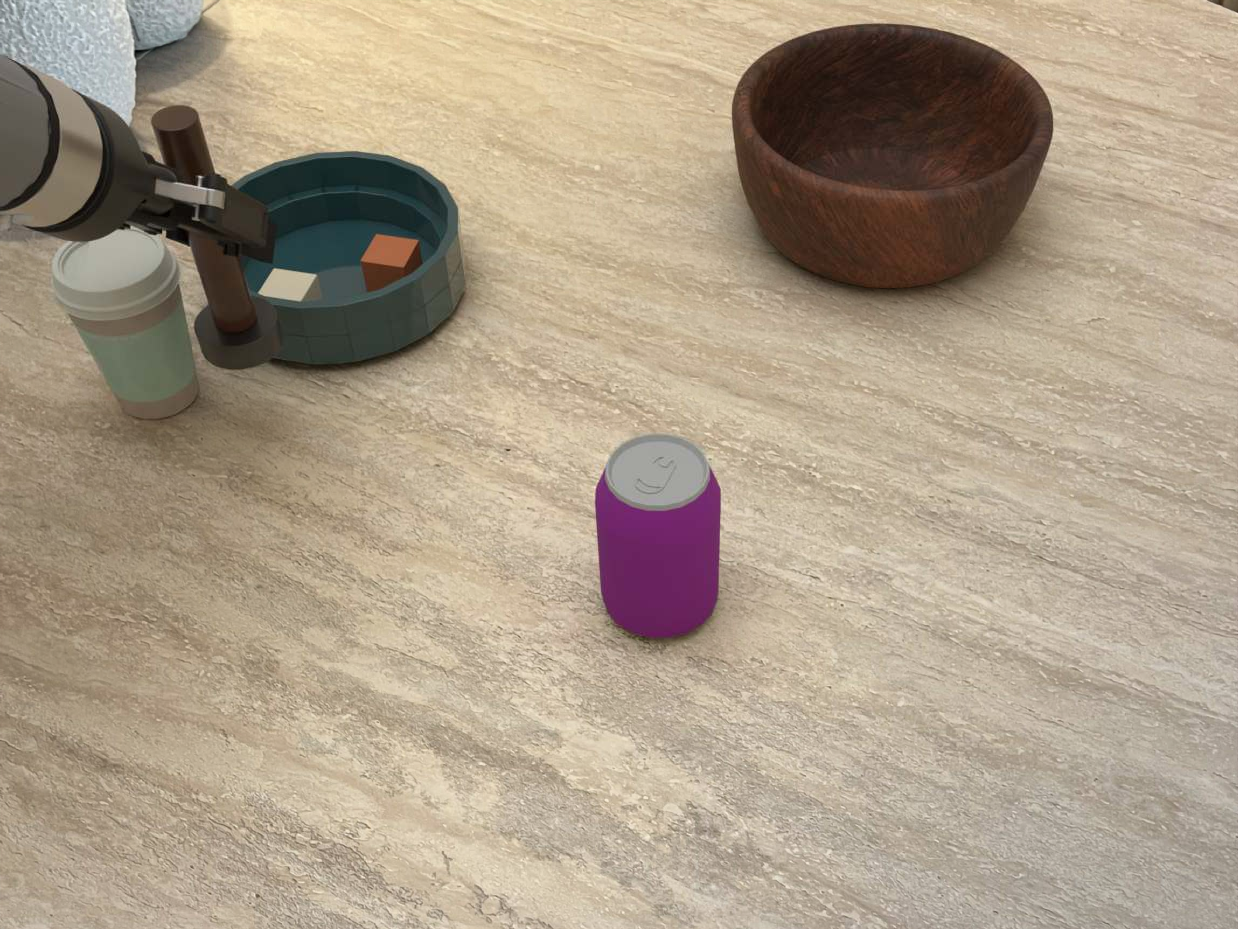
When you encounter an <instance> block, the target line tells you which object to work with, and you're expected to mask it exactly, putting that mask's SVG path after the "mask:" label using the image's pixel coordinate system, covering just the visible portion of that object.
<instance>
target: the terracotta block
mask: <svg viewBox="0 0 1238 929" xmlns="http://www.w3.org/2000/svg"><path fill="white" fill-rule="evenodd" d="M422 264H423V262H422V256H421V250H420V244H419V240H415V239H408V238H401V237H394V236H387V235H380V234H376V235H375V237H374V239H373V240H372V242H371V244H370V245H369V247H368V249H367V250H366V252H365V254H364V256H363V257H362V259H361V266H362V271H363V276H364V281H365V285H366V290H367V293H368V292H372V291H376V290H379V289H381V288H383V287H385V286H387V285H389V284H391V283H393V282H395V281H398V280H400V279H402V278H404V277H406V276H408V275H410V274H412V273H413V272H414V271H415V270H416V269H418V268H419V267H420V266H421V265H422Z"/></svg>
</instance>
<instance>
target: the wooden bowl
mask: <svg viewBox="0 0 1238 929" xmlns="http://www.w3.org/2000/svg"><path fill="white" fill-rule="evenodd" d="M731 125H732V133H733V143H734V152H735V158H736V164H737V171H738V175H739V180H740V184H741V188H742V191H743V194H744V196H745V199H746V202H747V205H748V207H749V210H750V211H751V214H752V215H753V217H754V219H755V221H756V223H757V225H758V226H759V228H760V230H761V231H762V233H763V234H764V235H765V236H766V238H767V239H768V241H769V242H770V243H771V244H772V245H773V246H774V247H775V248H776V249H777V250H778V251H779V252H780V253H781V254H783V255H784V256H785V257H786V258H788V259H789V260H790V261H793V262H794V263H796V264H797V265H799V266H800V267H802V268H804V269H806V270H808V271H809V272H812V273H813V274H816V275H818V276H821V277H824V278H825V279H829V280H833V281H836V282H839V283H843V284H848V285H853V286H857V287H865V288H874V289H902V288H903V289H905V288H914V287H920V286H926V285H929V284H930V285H931V284H933V283H934V284H935V283H938V282H941V281H945V280H947V279H950V278H952V277H955V276H957V275H960V274H962V273H964V272H966V271H968V270H969V269H971V268H973V267H974V266H976V265H978V264H979V263H980V262H982V260H984V259H985V258H986V257H987V256H989V255H990V254H991V253H992V252H993V251H994V250H995V249H996V248H997V247H998V246H999V245H1000V244H1001V243H1002V242H1003V241H1004V239H1005V238H1006V237H1007V236H1008V235H1009V233H1010V232H1011V231H1012V229H1013V228H1014V226H1016V223H1017V222H1018V220H1019V219H1020V217H1021V216H1022V214H1023V213H1024V210H1025V209H1026V206H1027V204H1028V202H1029V200H1030V199H1031V196H1032V194H1033V192H1034V190H1035V187H1036V185H1037V182H1038V181H1039V177H1040V176H1041V172H1042V170H1043V167H1044V164H1045V162H1046V159H1047V156H1048V153H1049V150H1050V147H1051V144H1052V140H1053V137H1054V136H1053V135H1054V113H1053V109H1052V104H1051V102H1050V100H1049V97H1048V95H1047V93H1046V91H1045V90H1044V88H1043V87H1042V86H1041V84H1040V83H1039V82H1038V81H1037V79H1036V78H1035V77H1034V76H1033V75H1032V74H1031V73H1030V72H1029V71H1028V70H1027V69H1025V67H1023V66H1022V65H1020V63H1018V62H1016V61H1015V60H1014V59H1012V58H1011V57H1010V56H1008V55H1006V54H1004V53H1003V52H1002V51H999V50H997V49H995V48H993V47H991V46H989V45H988V44H985V43H982V42H979V41H977V40H976V39H973V38H970V37H967V36H965V35H960V34H958V33H955V32H951V31H946V30H942V29H937V28H933V27H926V26H922V25H920V26H919V25H914V24H905V23H903V24H902V23H886V22H885V23H883V22H882V23H879V22H877V23H857V24H846V25H845V24H844V25H839V26H832V27H829V28H823V29H820V30H815V31H811V32H808V33H805V34H802V35H799V36H796V37H794V38H792V39H789V40H787V41H785V42H782V43H781V44H779V45H776V46H774V47H773V48H771V49H770V50H768V51H766V52H765V53H764V54H762V55H761V56H760V57H758V58H757V59H755V61H754V62H753V63H751V64H750V66H748V67H747V69H746V70H745V71H744V72H743V74H742V76H741V77H740V79H739V81H738V82H737V85H736V88H735V90H734V94H733V98H732V102H731Z"/></svg>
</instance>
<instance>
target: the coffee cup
mask: <svg viewBox="0 0 1238 929" xmlns="http://www.w3.org/2000/svg"><path fill="white" fill-rule="evenodd" d="M181 270H182V269H181V266H180V263H179V260H178V259H177V258H176V257H175V254H174V252H173V251H172V250H171V249H170V248H169V247H168V246H167V245H166V244H165V243H164V241H163V240H162V239H161V237H159V235H156V236H155V235H149V234H148V233H145V232H144V231H142V230H140V229H138V228H135V227H133V226H131V228H130V229H124V230H119V229H117V230H116V231H114V232H113V233H111V234H109V235H107V236H105V237H103V238H100V239H97V240H94V241H89V242H72V241H66V242H64V244H62V245H61V246H60V247H59V248H58V250H56V252H55V254H54V255H53V258H52V261H51V276H50V277H51V278H50V287H51V290H52V296H53V299H54V301H55V303H56V305H57V306H58V307H59V309H61V310H62V311H63V312H66V314H67V315H68V317H69V319H70V321H71V322H72V324H73V326H74V327H75V329H76V331H77V333H78V334H79V336H80V338H81V340H82V342H83V343H84V345H85V347H86V348H87V351H88V352H89V354H90V355H91V357H92V359H93V361H94V363H95V365H96V366H97V368H98V370H99V371H100V373H101V375H102V376H103V378H104V380H105V382H106V384H107V386H108V387H109V389H110V390H111V392H112V394H113V396H114V397H115V399H116V401H117V403H118V404H119V406H120V407H121V409H122V410H123V411H124V412H125V413H127V415H130V416H132V417H135V418H138V419H141V420H142V419H143V420H157V419H165V418H168V417H172V416H175V415H177V414H178V413H181V412H182V411H184V410H185V409H187V408H188V407H190V405H192V404H193V402H194V401H195V399H196V398H197V396H198V394H199V391H200V383H199V379H198V373H197V368H196V362H195V358H194V353H193V345H192V341H191V336H190V331H189V326H188V321H187V316H186V311H185V306H184V300H183V296H182V290H181V285H180V280H181V275H182V271H181Z"/></svg>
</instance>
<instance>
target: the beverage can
mask: <svg viewBox="0 0 1238 929" xmlns="http://www.w3.org/2000/svg"><path fill="white" fill-rule="evenodd" d="M705 454H706V453H705V452H704V451H703V450H702V449H701V448H700V447H699V446H698V445H697V444H696V443H695V442H693V441H690V440H689V439H686V438H684V437H683V436H680V435H676V434H671V433H668V432H667V433H666V432H665V433H664V432H663V433H662V432H661V433H659V432H650V433H645V434H641V435H636V436H634V437H631V438H629V439H627V440H625V441H623V442H621V444H619V445H618V446H617V447H615V449H614V450H612V451H611V452H610V454H609V457H608V459H607V461H606V463H605V467H604V469H603V471H602V474H601V476H600V478H599V480H598V482H597V483H596V486H595V495H594V510H595V526H596V540H597V553H598V554H597V555H598V568H599V582H600V594H601V598H602V602H603V605H604V607H605V610H606V613H607V615H609V617H610V618H611V619H612V620H613V621H614V622H615V624H616V625H617V626H619V627H620V628H622V629H624V630H626V631H627V632H629V633H631V634H634V635H638V636H641V637H646V638H650V639H669V638H674V637H678V636H682V635H685V634H688V633H690V632H691V631H693V630H695V629H697V628H699V627H701V626H702V625H703V624H704V623H705V621H707V620H708V618H710V617H711V616H712V614H713V611H714V609H715V607H716V605H717V602H718V597H719V587H720V586H719V585H720V584H719V583H720V551H721V550H720V547H721V517H722V516H721V515H722V514H721V512H722V489H721V487H720V484H719V483H718V480H717V478H716V476H715V474H714V471H713V470H712V468H711V465H710V463H709V461H708V458H707V456H706V455H705Z"/></svg>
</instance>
